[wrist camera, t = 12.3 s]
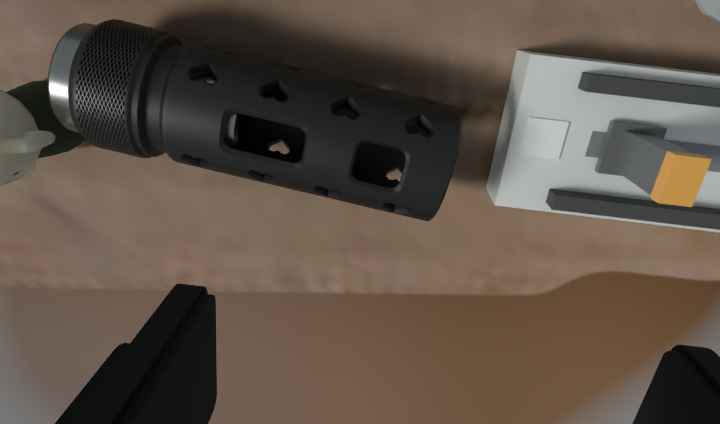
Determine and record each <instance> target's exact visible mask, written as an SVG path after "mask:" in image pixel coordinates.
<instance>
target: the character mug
mask: <svg viewBox="0 0 720 424" xmlns="http://www.w3.org/2000/svg"><path fill="white" fill-rule="evenodd" d="M83 138H84V137H83V136H82V135H81V134H80V133H78V132H74V131H71V130H69V129H67V128H65V127H64V126H63V125H62V124H61V123H60V122H59V121H58V119H57V118H56V116H55V115H54V112H53V110H52V108H51V104H50V101H49V96H48V81H33V82H30V83H27V84H25V85H22V86H19V87H17V88H14V89H12V90H10V91H8V92H4V91H2V90H0V186H1V185H4V184H7V183H10V182H12V181H15V180H18V179H22V178H23V177H25V176H26V175H27V174H28V173H30V172H31V171H32V170H33V169H34V168H35V165H36V162H37V159H38V158H42V157H47V156H52V155H56V154H60V153H63V152H67V151H70V150H72V149H73V148H75V147H76V146H78V145H80V144H81V142H82V140H83Z"/></svg>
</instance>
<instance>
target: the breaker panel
mask: <svg viewBox="0 0 720 424" xmlns="http://www.w3.org/2000/svg"><path fill="white" fill-rule="evenodd" d="M582 72H588V73H597V74H605V75H613V76H622V77H630V78H639V79H647V80H656V81H664V82H673V83H681V84H690V85H698V86H706V87H715V88H720V74H718V73H709V72H701V71H692V70H684V69H675V68H667V67H658V66H650V65H641V64H633V63H624V62H616V61H607V60H599V59H591V58H582V57H574V56H565V55H557V54H548V53H540V52H531V51H523V50H517V53H516V57H515V62H514V66H513V71H512V75H511V79H510V84H509V88H508V93H507V97H506V102H505V106H504V111H503V115H502V119H501V124H500V128H499V133H498V137H497V142H496V146H495V150H494V155H493V159H492V164H491V168H490V173H489V177H488V181H487V186H486V190H487V192H488V194H489V195H490V197H491V199H492V201H493V203H494V204H495V205H497V206H505V207H513V208H521V209H530V210H538V211H546V212H555V213H563V214H571V215H580V216H588V217H596V218H605V219H613V220H621V221H629V222H638V223H646V224H654V225H663V226H671V227H679V228H688V229H696V230H704V231H712V232H720V230H716V229H708V228H700V227H692V226H683V225H675V224H667V223H658V222H650V221H642V220H633V219H625V218H617V217H608V216H600V215H592V214H584V213H575V212H567V211H559V210H552V209H551V208H550V207H549V206H548V205H547V203H546V199H547V195H548V192H549V189H557V190H566V191H574V192H582V193H591V194H599V195H607V196H616V197H624V198H632V199H641V200H649V201H654V200H653V199H651V198H650V195H649V194H648V193H646V192H645V191H644V190H642V189H641V188H639V187H638V186H637V185H635V184H634V183H632V182H631V181H629V180H628V179H627V178H625V177H624V176H618V175H610V174H602V173H597V172H596V171H595V168H596V164H597V161H598V158H599V155H600V152H601V149H602V145H603V142H604V139H605V136H606V133H607V130H608V126H609V123H610V120H611V121H619V122H628V123H636V124H644V125H653V126H661V127H665V128H667V131H666V134H665V137H664V140H667V141H669V142H671V143H673V144H675V145H677V146H679V147H681V148H684V149H686V150H688V151H690V152H692V153H694V154H700V155H704V156H706V157H708V158H710V159H712V160H711V162H710V165H709V167H708V170H707V172H706V175H705V177H704V179H703V182H702V184H701V187H700V189H699V191H698V194H697V196H696V199H695V201H694V204H693V206H699V207H707V208H716V209H720V108H719V107H710V106H702V105H693V104H685V103H676V102H668V101H660V100H651V99H643V98H634V97H626V96H617V95H609V94H601V93H592V92H585V91H583V90H580V89H578V85H579V82H580V78H581V74H582Z"/></svg>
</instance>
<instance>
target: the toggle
mask: <svg viewBox="0 0 720 424" xmlns="http://www.w3.org/2000/svg"><path fill="white" fill-rule="evenodd" d="M666 131H667V128H665V127H661V126H653V125H644V124H636V123H628V122H619V121H611V120H610V123H609V126H608V130H607V133H606V136H605V139H604V142H603V145H602V149H601V152H600V155H599V158H598V161H597V164H596V168H595V171H596V172H597V173H602V174H610V175H618V176H624V177H625V178H627V179H628V180H629V181H631V182H632V183H634V184H635V185H637V186H638V187H639V188H641V189H642V190H644V191H645V192H646V193H648V194H649V195H650V198H651V199H653V200H654V201H655V202H657V203H661V204H669V205H677V206H686V207H692V206H693V204H694V201H695V199H696V196H697V194H698V191H699V189H700V187H701V184H702V182H703V179H704V177H705V175H706V172H707V170H708V167H709V165H710V162H711V160H712V159H710V158H708V157H706V156H704V155H700V154H694V153H692V152H690V151H688V150H686V149H684V148H681V147H679V146H677V145H675V144H673V143H671V142H669V141H667V140H664V137H665V134H666Z"/></svg>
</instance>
